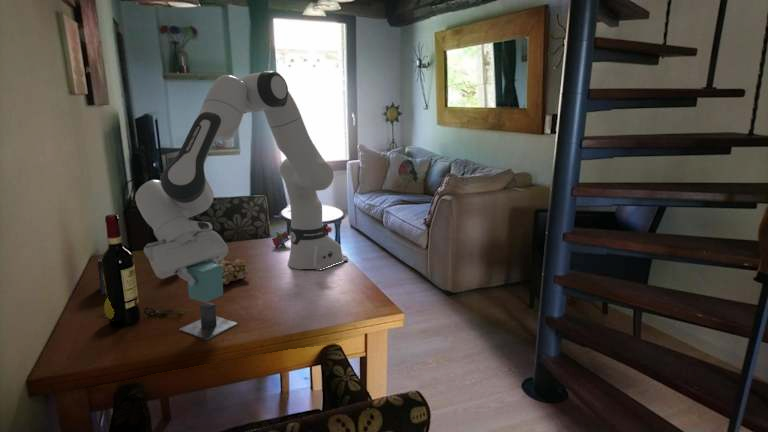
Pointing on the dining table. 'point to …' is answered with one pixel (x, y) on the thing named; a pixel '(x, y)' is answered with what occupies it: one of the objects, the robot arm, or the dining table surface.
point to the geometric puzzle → (280, 239)
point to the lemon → (108, 309)
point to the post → (208, 323)
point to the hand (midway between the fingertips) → (207, 279)
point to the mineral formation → (233, 270)
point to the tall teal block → (206, 281)
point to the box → (101, 274)
